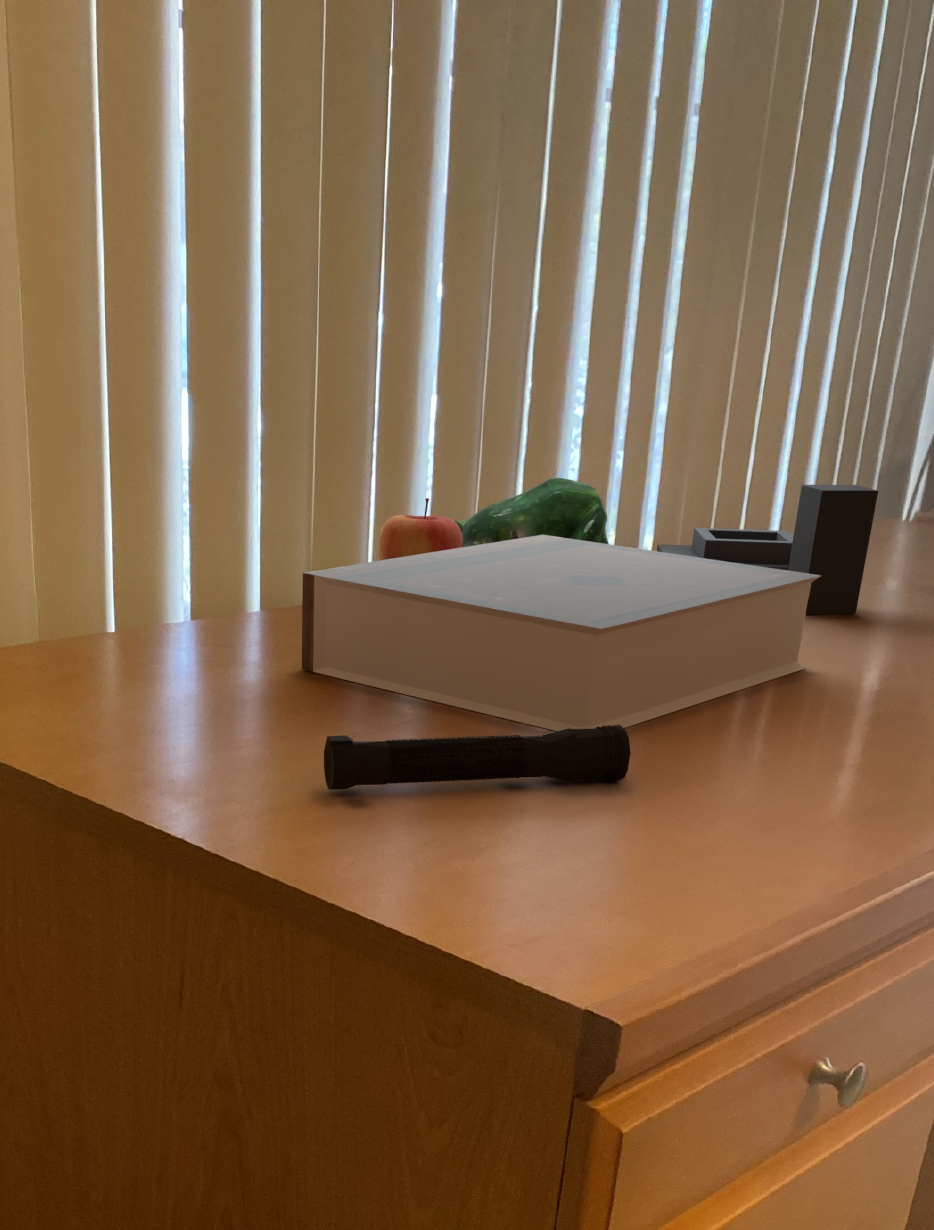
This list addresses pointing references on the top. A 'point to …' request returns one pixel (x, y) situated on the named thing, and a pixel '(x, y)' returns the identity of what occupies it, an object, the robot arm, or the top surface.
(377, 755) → the flashlight
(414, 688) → the book
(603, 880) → the top surface
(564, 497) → the green pepper
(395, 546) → the apple
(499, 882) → the top surface
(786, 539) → the base pad
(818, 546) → the dark grey block
